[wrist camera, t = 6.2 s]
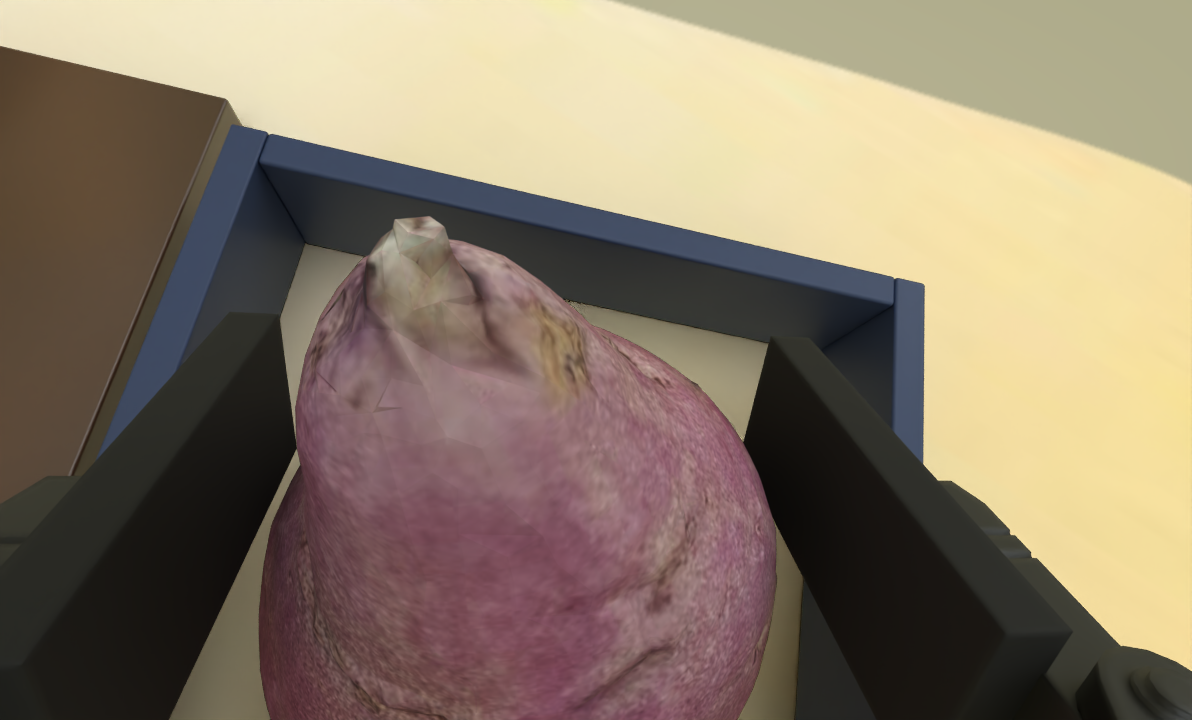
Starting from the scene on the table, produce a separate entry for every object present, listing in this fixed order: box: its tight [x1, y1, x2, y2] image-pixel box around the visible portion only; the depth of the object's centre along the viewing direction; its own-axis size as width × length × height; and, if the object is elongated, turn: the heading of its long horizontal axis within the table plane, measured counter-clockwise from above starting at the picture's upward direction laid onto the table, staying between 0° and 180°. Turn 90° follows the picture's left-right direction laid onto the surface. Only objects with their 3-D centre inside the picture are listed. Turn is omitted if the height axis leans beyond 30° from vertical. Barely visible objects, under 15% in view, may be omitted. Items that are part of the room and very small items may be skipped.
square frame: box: [95, 124, 925, 720], centre depth 15 cm, size 17×17×4 cm
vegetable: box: [259, 216, 777, 720], centre depth 11 cm, size 10×10×15 cm
